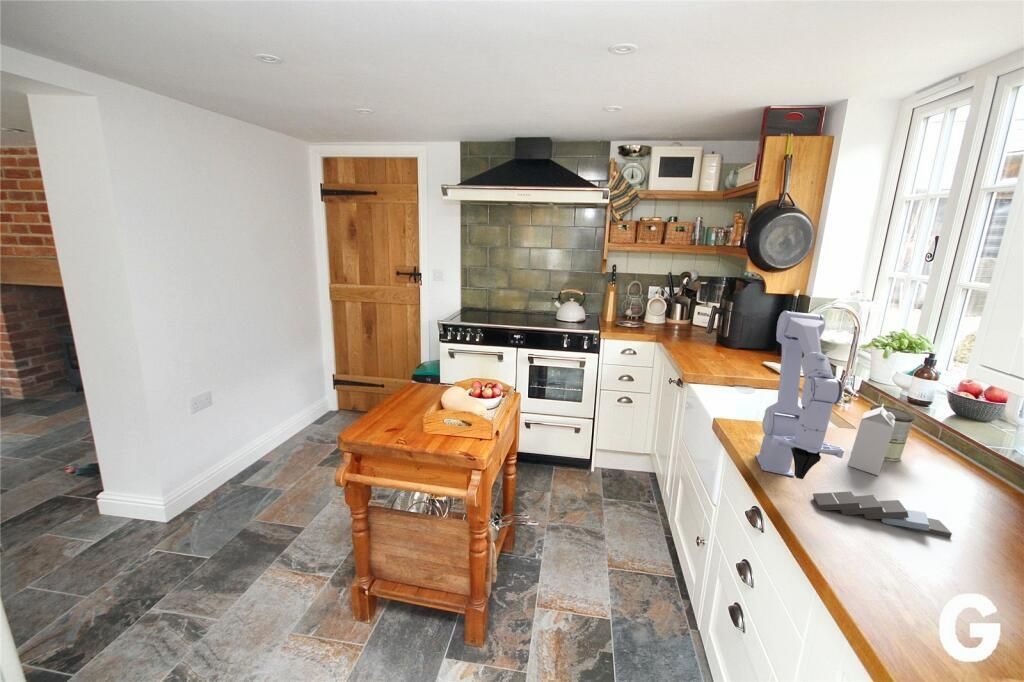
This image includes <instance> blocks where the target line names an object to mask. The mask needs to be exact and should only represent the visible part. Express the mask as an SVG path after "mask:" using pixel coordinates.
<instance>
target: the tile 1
mask: <svg viewBox="0 0 1024 682" xmlns="http://www.w3.org/2000/svg"><path fill="white" fill-rule="evenodd" d="M855 496H856V495H854V493H853V492H852V491H849V490H848V491H836V492H834V491H833V492H819V493H812V497H813V500H814V502H815V504H816V505H817V508H818V509H819V511H837V510H838V511H840V510H843V509H860V505H859V502H858V500H857V499H856V498H855Z"/></svg>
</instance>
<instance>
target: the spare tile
mask: <svg viewBox="0 0 1024 682" xmlns="http://www.w3.org/2000/svg"><path fill="white" fill-rule="evenodd" d="M906 510H907V512H908V517H909V518H883V519H881V523H882V522H883V523H882V524H885V523H886V524H887V525H892V526H899V527H904V528H906V527H909V528H916V529H922V530H928V531H929V523H928V519H927V518H928V516H927V513H926V512H925V511H924V512H923V511H920V510H919V511H917V510H910V509H906Z"/></svg>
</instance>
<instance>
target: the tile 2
mask: <svg viewBox="0 0 1024 682" xmlns="http://www.w3.org/2000/svg"><path fill="white" fill-rule="evenodd" d="M854 496H855V498H856V499H857V500H858V502H859V505H860V509H843V510H839V512H840V514H841V513H842V514H841V515H842V516H847V515H863V514H867V513H882V512H883V508H882V506H881V504H880V503H879V502H878V501H879V500H878V499H877V498H876V497H875V495H874V494H868V495H867V494H865V495H854Z"/></svg>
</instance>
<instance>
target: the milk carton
mask: <svg viewBox="0 0 1024 682" xmlns="http://www.w3.org/2000/svg"><path fill="white" fill-rule="evenodd" d="M883 406H885V405H884V403H882V407H880V408H877V409H874V410H871V409H870V410H867V411H865V412H863V414H862V416H861V419H860V421H859V427H858V429H857V432H856V436H855V439H854V443H853V446H852V450H851V453H850V456H849V460H848V463H847V466H848V467H851V468H853V469H855V470H859V471H863V472H866V473H869V474H871V475H875V476H879V475H880V472H881V469H882V465H883V464H884V463H883V462H884V461H885V460H884V457H885V454H886V451H887V447H888V444H889V441H890V438H891V435H892V432H893V429H894V424H895V420H894V419H895V416H894V415H893V414H892V413H891V412H887V411H886V410H885V409H884V408H883Z"/></svg>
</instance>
